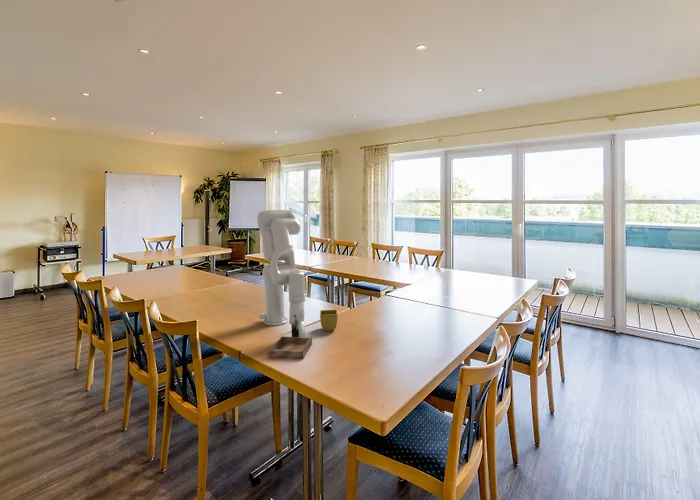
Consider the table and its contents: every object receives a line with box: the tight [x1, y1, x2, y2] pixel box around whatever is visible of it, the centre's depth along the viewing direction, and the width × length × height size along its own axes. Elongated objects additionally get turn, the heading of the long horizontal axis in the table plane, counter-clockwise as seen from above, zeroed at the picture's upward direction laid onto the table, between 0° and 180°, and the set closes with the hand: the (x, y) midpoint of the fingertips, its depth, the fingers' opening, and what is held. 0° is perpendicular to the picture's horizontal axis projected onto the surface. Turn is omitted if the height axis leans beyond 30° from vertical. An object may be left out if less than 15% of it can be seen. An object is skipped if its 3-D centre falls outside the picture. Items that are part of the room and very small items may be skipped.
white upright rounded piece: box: [296, 320, 306, 337], centre depth 164 cm, size 6×6×8 cm
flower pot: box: [319, 309, 339, 332], centre depth 177 cm, size 9×9×9 cm
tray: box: [268, 336, 313, 360], centre depth 151 cm, size 14×16×3 cm
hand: (298, 333), depth 164 cm, fingers open, 9 cm apart
